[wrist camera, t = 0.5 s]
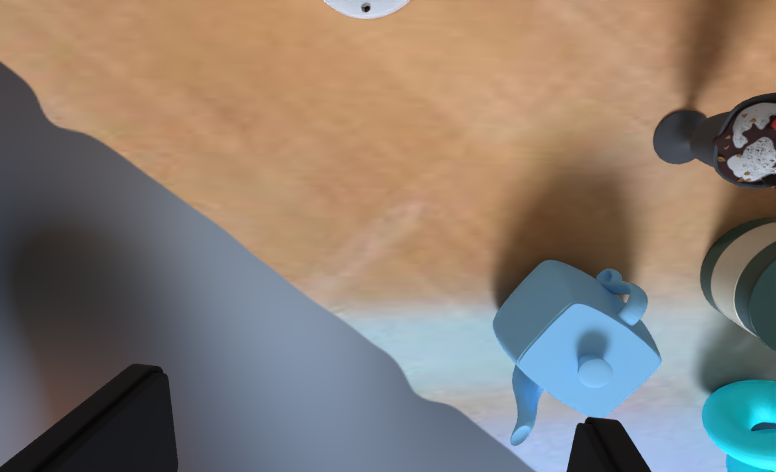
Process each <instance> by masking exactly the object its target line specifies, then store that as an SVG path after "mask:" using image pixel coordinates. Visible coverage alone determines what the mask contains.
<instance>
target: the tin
mask: <svg viewBox="0 0 776 472" xmlns="http://www.w3.org/2000/svg"><path fill="white" fill-rule="evenodd" d="M701 287H702V290H703V293H704V295H705V297H706V299H707V300H708V302H709V303H710V304H711V305H712V306H713V307H714V308H715V309H716V310H718V311H719V312H721V313H722V314H724V315H725V316H726V317H727V318H729V319H730V320H732V321H733V322H735V323H736V324H738V325H739V326H741V327H742V328H744V329H745V330H747V331H748V332H750V333H751V334H753V335H754V336H756V337H758V338H759V339H760V340H761V341H762V342H763V343H764V344H765V345H767V346H768V347H770V348H771V349H773V350H775V351H776V218H763V219H757V220H753V221H750V222H747V223H744V224H742V225H740V226H737V227H735V228H734V229H732V230H730V231H729V232H727V233H726V234H725V235H724V236H722V237H721V238H720V239H719V240H718V241H717V242H716V243H715V244H714V245H713V247H712V248H711V249H710V251H709V252H708V254H707V256H706V258H705V260H704V262H703V265H702V269H701Z"/></svg>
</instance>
